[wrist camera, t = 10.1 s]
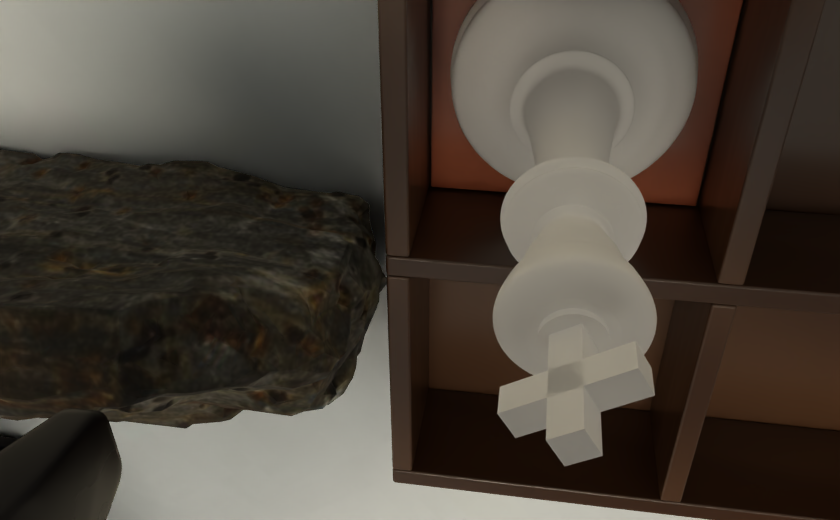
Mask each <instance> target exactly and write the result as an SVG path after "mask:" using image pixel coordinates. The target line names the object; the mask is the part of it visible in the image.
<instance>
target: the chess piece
mask: <svg viewBox="0 0 840 520" xmlns="http://www.w3.org/2000/svg"><path fill="white" fill-rule="evenodd" d="M697 77H698V50H697V43H696V38H695V34H694V31H693V28H692V25H691V22H690V20H689V18H688V16H687V14H686V12H685V10H684V8H683V6H682V5H681V3H680V2H679V0H477V1H476V2H475V4H474V5H473V6H472V8H471V9H470V11H469V12H468V14H467V16H466V17H465V19H464V21H463V23H462V25H461V27H460V30H459V32H458V35H457V38H456V41H455V44H454V48H453V53H452V59H451V90H452V99H453V105H454V109H455V113H456V116H457V119H458V122H459V124H460V127H461V129H462V131H463V133H464V135H465V136H466V138H467V140H468V141H469V143H470V144H471V146H472V147H473V148H474V150H475V151H476V152H477V153H478V154H479V156H480V157H481V158H482V159H483V160H484V161H485V162H487V163H488V164H489V165H490V166H491V167H492V168H494V169H495V170H496V171H498V172H499V173H501V174H502V175H504V176H506V177H507V178H509V179H511V180H513V181H515V182H514V183H513V184H512V186H511V187H510V189H509V190H508V192H507V194H506V196H505V198H504V201H503V204H502V207H501V214H500V223H501V230H502V234H503V237H504V239H505V242H506V244H507V246H508V248H509V250H510V252H511V254H512V255H513V256H514V258H515V259H516V260H517V261H518V262H519V263H518V264H517V265H516V266H515V267H514V268H513V270H512V271H511V273H510V274H509V275H508V277H507V278H506V280H505V281H504V283H503V285H502V286H501V288H500V290H499V292H498V295H497V297H496V300H495V304H494V308H493V327H494V332H495V335H496V338H497V340H498V342H499V344H500V346H501V348H502V349H503V351H504V352H505V353H506V355H507V356H508V357H509V358H510V359H511V360H512V361H513V362H514V363H515V364H516V365H518V366H519V367H520V368H522V369H523V370H525V371H527V372H528V373H530V374H532V375H533V376H530V377H527V378H524V379H521V380H518V381H515V382H512V383H509V384H507V385H504V386H501V387H500V390H499V401H498V411H497V414H498V415H499V417H500V418H501V419H502V421H503V422H504V423H505V425H506V426H507V427H508V429H509V430H510V431H511V433H512V434H513V436H514V437H515V438H518V437H521V436H524V435H527V434H531V433H534V432H537V431H540V430H544V429H546V441H547V443H548V444H549V445H550V447H551V448H552V450H553V451H554V452H555V454H556V455H557V457H558V458H559V459H560V461H561V462H562V464H563V465H564V466H568V465H572V464H575V463H579V462H582V461H586V460H590V459H593V458H597V457H600V456H603V452H602V430H601V412H603V411H606V410H609V409H613V408H616V407H619V406H622V405H626V404H629V403H632V402H635V401H639V400H642V399H645V398H649V397H652V396H655V391H654V383H653V375H652V368H651V366H650V364H649V363H648V361H647V359H646V358H645V356H644V354H645V353H646V352H647V350H648V349H649V347H650V345H651V343H652V341H653V338H654V335H655V332H656V325H657V314H656V308H655V304H654V301H653V298H652V295H651V293H650V291H649V289H648V287H647V286H646V284H645V283H644V281H643V280H642V278H641V277H640V275H639V274H638V273H637V271H636V270H635V269H634V267H633V266H632V265H631V264H630V263H629V262H628V261H629V260H630V259H631V258H632V257H633V255H634V254H635V252H636V251H637V249H638V247H639V245H640V242H641V240H642V238H643V236H644V233H645V229H646V223H647V211H646V205H645V201H644V199H643V196H642V194H641V192H640V190H639V189H638V187H637V186H636V184H635V183H634V182H633V181H632V179H631V178H632V177H634V176H636V175H637V174H639V173H641V172H642V171H644V170H645V169H646V168H648V167H649V166H650V165H652V164H653V163H654V162H655V161H657V160H658V159H659V158H660V157H661V156H662V155H663V154H664V153H665V152H666V151H667V150H668V149H669V147H670V146H671V145H672V144H673V142H674V141H675V140H676V138H677V137H678V135H679V134H680V132H681V131H682V129H683V127H684V125H685V123H686V121H687V119H688V117H689V114H690V112H691V109H692V106H693V103H694V99H695V94H696V88H697Z"/></svg>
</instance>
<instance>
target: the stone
mask: <svg viewBox="0 0 840 520" xmlns="http://www.w3.org/2000/svg"><path fill="white" fill-rule="evenodd" d="M375 249H376V242H375V239H374V235H373V231H372V228H371V224H370V215H369V203H367V202H366V201H365V200H363V199H362V198H361V197H359V196H355V195H350V194H345V193H342V192H332V193H326V192H317V191H308V190H300V189H293V188H286V187H282V186H279V185H277V184H274V183H272V182H269V181H266V180H263V179H260V178H258V177H255V176H252V175H248V174H244V173H241V172H237V171H233V170H228V169H224V168H220V167H217V166H215V165H213V164H211V163H209V162H204V161H172V162H168V163H164V164H161V165H160V164H146V165H142V166H138V165H132V164H127V163H121V162H114V161H106V160H98V159H93V158H90V157H86V156H83V155H79V154H70V153H58V154H57V155H55V156H53V157H51V158H47V159H41V158H40V157H39V156H37V155H36V154H34V153H25V152H16V151H7V150H2V149H0V418H4V419H11V420H17V421H18V420H25V419H32V418H51V417H52V416H53V415H55V414H56V413H58V412H60V411H62V410H64V409H67V408H80V409H89V410H98V411H101V412H103V413H104V414H105V415H106V416H107V418H108V420H109V421H111V422H120V421H128V422H136V423H144V424H153V425H162V426H171V427H178V428H187V427H189V426H190V425H192V424H199V423H211V422H221V421H226V420H230V419H232V418H233V417H234V416H236V415H237V414H238V413H240V412H241V411H242V410H252V411H259V412H266V413H274V414H281V415H288V416H292V415H295V414H298V413H301V412H304V411H310V410H316V409H323V408H324V407H325V406H326V405H329V404H330V403H332V402H333V401H334V400H336V399H337V398H338V397H340V396H341V395H342V394H343V393H344V392H345V390H346V389H347V387H348V385H349V383H350V382H351V380H352V378H353V376H354V372H355V369H356V364H357V356H358V354H359V353H360V352H361V347H362V343H363V339H364V335H365V333H366V331H367V329H368V326H369V324H370V322H371V319H372V317H373V315H374V313H375V310H376V308H377V304H378V302H379V293H380V292H381V290H382V289H383V288H384V287H385V285H386V284H387V278H386V276H385V274H384V273H383V271H382V269H381V266H380V264H379V261H378V260H377V259H376V257H375Z"/></svg>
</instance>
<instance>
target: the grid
mask: <svg viewBox="0 0 840 520" xmlns="http://www.w3.org/2000/svg"><path fill="white" fill-rule="evenodd" d="M476 1H477V0H378V30H379V61H380V92H381V123H382V153H383V184H384V215H385V245H386V254H387V255H386V272H387V307H388V337H389V368H390V399H391V429H392V460H393V481H394V482H398V483H406V484H415V485H423V486H431V487H440V488H448V489H457V490H465V491H474V492H482V493H490V494H499V495H507V496H516V497H524V498H533V499H541V500H549V501H558V502H566V503H575V504H583V505H591V506H600V507H608V508H617V509H625V510H634V511H642V512H650V513H659V514H667V515H676V516H684V517H692V518H701V519H709V520H840V0H679V2H680V3H681V5H682V6H683V8H684V10H685V12H686V14H687V16H688V18H689V20H690V22H691V25H692V28H693V31H694V34H695V38H696V43H697V50H698V77H697V88H696V94H695V99H694V103H693V106H692V109H691V112H690V114H689V117H688V119H687V121H686V123H685V125H684V127H683V129H682V131H681V132H680V134H679V135H678V137H677V138H676V140H675V141H674V142H673V144H672V145H671V146H670V147H669V149H668V150H667V151H666V152H665V153H664V154H663V155H662V156H661V157H660V158H659V159H658V160H657V161H655V162H654V163H653V164H652V165H650V166H649V167H648V168H646V169H645V170H644V171H642V172H641V173H639V174H637V175H636V176H634V177H632V178H631V179H632V181H633V182H634V183H635V184H636V186H637V187H638V189H639V190H640V192H641V194H642V196H643V199H644V201H645V205H646V211H647V223H646V229H645V233H644V236H643V238H642V240H641V242H640V245H639V247H638V249H637V251H636V252H635V254H634V255H633V257H632V258H631V259H630V260H629V261H628V262H629V263H630V264H631V265H632V266H633V267H634V269H635V270H636V271H637V273H638V274H639V275H640V277H641V278H642V280H643V281H644V283H645V284H646V286H647V287H648V289H649V291H650V293H651V295H652V298H653V301H654V304H655V308H656V314H657V325H656V332H655V335H654V338H653V341H652V343H651V345H650V347H649V349H648V350H647V352H646V353H645V354H644V356H645V358H646V359H647V361H648V363H649V364H650V366H651V368H652V375H653V383H654V391H655V396H652V397H649V398H645V399H642V400H639V401H635V402H632V403H629V404H626V405H622V406H619V407H616V408H613V409H609V410H606V411H603V412H601V430H602V452H603V456H600V457H597V458H593V459H590V460H586V461H582V462H579V463H575V464H572V465H568V466H564V465H563V464H562V462H561V461H560V459H559V458H558V457H557V455H556V454H555V452H554V451H553V450H552V448H551V447H550V445H549V444H548V443H547V441H546V429H544V430H540V431H537V432H534V433H531V434H527V435H524V436H521V437H518V438H515V437H514V436H513V434H512V433H511V431H510V430H509V429H508V427H507V426H506V425H505V423H504V422H503V421H502V419H501V418H500V417H499V415H498V414H497V411H498V401H499V390H500V387H501V386H504V385H507V384H509V383H512V382H515V381H518V380H521V379H524V378H527V377H530V376H533V375H532V374H530V373H528V372H527V371H525V370H523V369H522V368H520V367H519V366H518V365H516V364H515V363H514V362H513V361H512V360H511V359H510V358H509V357H508V356H507V355H506V353H505V352H504V351H503V349H502V348H501V346H500V344H499V342H498V340H497V338H496V335H495V332H494V327H493V308H494V304H495V300H496V297H497V295H498V292H499V290H500V288H501V286H502V285H503V283H504V281H505V280H506V278H507V277H508V275H509V274H510V273H511V271H512V270H513V268H514V267H515V266H516V265H517V264H518V263H519V262H518V261H517V260H516V259H515V258H514V256H513V255H512V254H511V252H510V250H509V248H508V246H507V244H506V242H505V239H504V237H503V234H502V230H501V223H500V214H501V207H502V204H503V201H504V198H505V196H506V194H507V192H508V190H509V189H510V187H511V186H512V184H513V183H514V182H515V181H513V180H511V179H509V178H507V177H506V176H504V175H502V174H501V173H499V172H498V171H496V170H495V169H494V168H492V167H491V166H490V165H489V164H488V163H487V162H485V161H484V160H483V159H482V158H481V157H480V156H479V154H478V153H477V152H476V151H475V150H474V148H473V147H472V146H471V144H470V143H469V141H468V140H467V138H466V136H465V135H464V133H463V131H462V129H461V127H460V124H459V122H458V119H457V116H456V113H455V109H454V105H453V99H452V90H451V59H452V53H453V48H454V44H455V41H456V38H457V35H458V32H459V30H460V27H461V25H462V23H463V21H464V19H465V17H466V16H467V14H468V12H469V11H470V9H471V8H472V6H473V5H474V4H475V2H476Z"/></svg>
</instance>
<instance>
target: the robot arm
mask: <svg viewBox="0 0 840 520" xmlns="http://www.w3.org/2000/svg"><path fill="white" fill-rule="evenodd" d="M121 472H122V463H121V458H120V455H119V451H118V448H117V445H116V442H115V439H114V436H113V433H112V430H111V426H110V423H109V420H108V418H107V416H106V415H105V414H104V413H103V412H101V411H98V410H89V409H80V408H67V409H64V410H62V411H60V412H58V413H56V414H55V415H53V416H52V417H51V418H49V419H48V420H46V421H45V422H43V423H42V424H40V425H39V426H37V427H36V428H34V429H33V430H31V431H30V432H28V433H27V434H25V435H24V436H22V437H21V438H19V439H17V438H11V437H3V436H0V520H106V519H107V516H108V513H109V511H110V508H111V505H112V502H113V499H114V497H115V494H116V491H117V488H118V485H119V482H120V478H121Z"/></svg>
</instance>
